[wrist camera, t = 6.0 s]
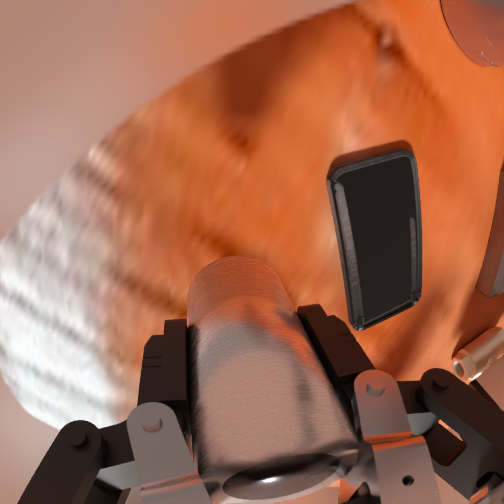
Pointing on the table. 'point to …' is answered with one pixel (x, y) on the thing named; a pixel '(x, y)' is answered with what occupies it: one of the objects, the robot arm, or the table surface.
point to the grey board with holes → (494, 251)
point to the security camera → (483, 365)
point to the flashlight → (259, 391)
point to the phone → (378, 234)
